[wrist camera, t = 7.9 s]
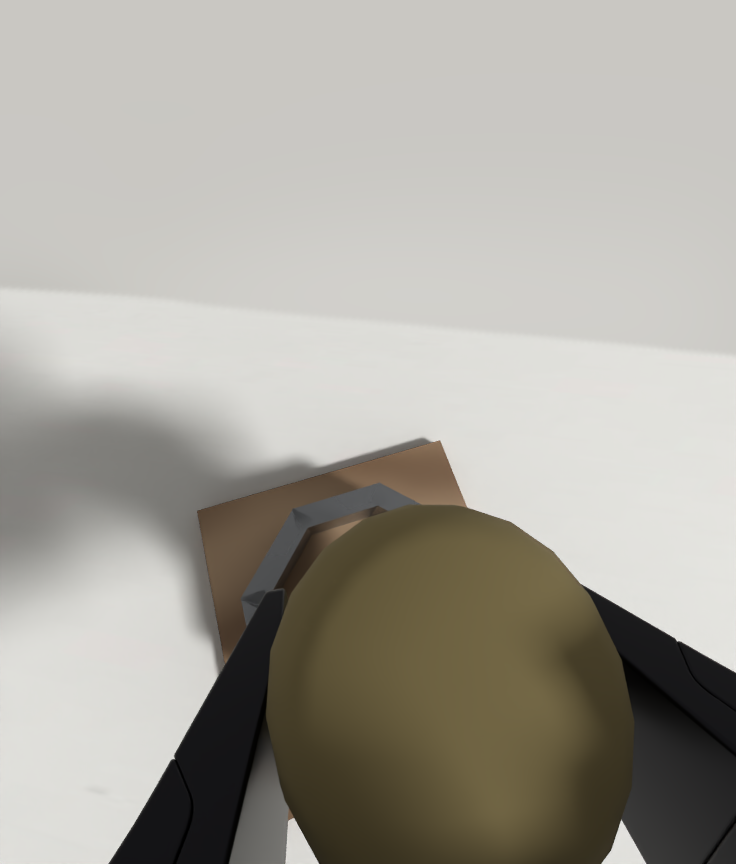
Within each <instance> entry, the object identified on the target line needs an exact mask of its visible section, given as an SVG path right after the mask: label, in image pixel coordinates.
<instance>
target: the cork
mask: <svg viewBox="0 0 736 864" xmlns="http://www.w3.org/2000/svg"><path fill="white" fill-rule="evenodd" d="M266 720H267V724H268V729H269V734H270V739H271V743H272V748H273V753H274V758H275V762H276V767H277V772H278V777H279V782H280V786H281V789H282V793H283V796H284V799H285V802H286V804H287V805H288V807H289V809H290V811H291V813H292V815H293V816H294V818H295V820H296V822H297V824H298V826H299V827H300V829H301V831H302V833H303V835H304V837H305V838H306V840H307V842H308V844H309V846H310V848H311V849H312V851H313V853H314V855H315V857H316V859H317V860H318V862H319V864H601V863H602V862H603V860H604V859H605V858H606V856H607V855H608V854H609V852H610V851H611V849H612V846H613V843H614V840H615V837H616V834H617V831H618V828H619V824H620V821H621V818H622V815H623V812H624V809H625V806H626V803H627V800H628V797H629V794H630V791H631V788H632V769H633V745H634V717H633V712H632V708H631V703H630V698H629V693H628V689H627V684H626V679H625V675H624V670H623V665H622V660H621V658H620V656H619V654H618V652H617V650H616V647H615V645H614V643H613V641H612V639H611V637H610V635H609V633H608V631H607V629H606V627H605V625H604V623H603V621H602V619H601V616H600V614H599V612H598V610H597V608H596V606H595V604H594V602H593V600H592V599H591V597H590V595H589V594H588V592H587V591H586V590H585V589H584V588H583V586H582V585H581V584H580V583H579V582H578V580H577V579H576V578H575V577H574V576H573V574H572V573H571V572H570V571H569V570H568V569H567V567H566V566H565V565H564V564H563V563H562V561H561V560H560V559H559V558H558V557H557V555H556V554H555V553H554V552H553V551H552V550H550V549H549V548H547V547H546V546H544V545H543V544H542V543H540V542H539V541H537V540H536V539H534V538H533V537H531V536H530V535H529V534H527V533H526V532H524V531H523V530H521V529H520V528H519V527H517V526H516V525H514V524H513V523H511V522H509V521H506V520H503V519H500V518H497V517H494V516H491V515H488V514H485V513H482V512H479V511H476V510H473V509H469V508H466V507H463V506H458V505H412V504H408V505H405V506H402V507H399V508H396V509H393V510H390V511H387V512H384V513H381V514H378V515H375V516H372V517H369V518H366V519H363V520H362V521H360V522H359V523H358V524H356V525H355V526H354V527H352V528H351V529H350V530H348V531H347V532H346V533H344V534H343V535H342V536H340V537H339V538H337V539H336V540H335V541H333V542H332V543H331V544H329V545H328V546H327V547H325V548H324V549H323V550H322V551H321V553H320V554H319V556H318V557H317V558H316V560H315V561H314V562H313V564H312V565H311V567H310V568H309V569H308V571H307V572H306V573H305V575H304V576H303V578H302V579H301V580H300V582H299V583H298V584H297V586H296V587H295V588H294V590H293V591H292V593H291V595H290V597H289V600H288V603H287V606H286V609H285V611H284V614H283V617H282V620H281V623H280V625H279V628H278V631H277V634H276V636H275V639H274V642H273V645H272V648H271V650H270V664H269V679H268V693H267V707H266Z"/></svg>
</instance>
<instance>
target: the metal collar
mask: <svg viewBox="0 0 736 864" xmlns="http://www.w3.org/2000/svg"><path fill="white" fill-rule="evenodd" d="M408 504H412V505H422V504H420V503H418V502H416V501H414V500H412V499H410V498H408V497H406V496H404V495H402V494H401V493H399V492H397V491H395V490H393V489H391V488H389V487H387V486H385V485H383V484H381V483H376V484H373V485H370V486H366V487H363V488H360V489H357V490H353V491H350V492H347V493H343V494H340V495H337V496H333V497H330V498H327V499H324V500H320V501H317V502H314V503H310V504H307V505H304V506H300V507H297V508H293V509H292V511H291V513H290V515H289V516H288V518H287V520H286V521H285V523H284V525H283V527H282V528H281V530H280V532H279V533H278V535H277V537H276V539H275V540H274V542H273V544H272V545H271V547H270V549H269V551H268V552H267V554H266V556H265V557H264V559H263V561H262V563H261V564H260V566H259V568H258V569H257V571H256V573H255V575H254V576H253V578H252V580H251V581H250V583H249V585H248V587H247V588H246V590H245V592H244V593H243V595H242V597H241V602H242V607H243V612H244V617H245V622H246V626H247V625H248V623H249V621H250V619H251V617H252V616H253V614H254V612H255V610H256V609H257V607H258V605H259V603H260V601H261V600H262V598H263V596H264V594H265V593H266V592H267V591H270V590H275V589H281V588H283V586H284V584H285V582H286V580H287V579H288V577H289V575H290V573H291V571H292V569H293V568H294V566H295V564H296V562H297V560H298V559H299V557H300V555H301V553H302V551H303V549H304V548H305V546H306V544H307V542H308V540H309V538H310V537H311V535H314V534H317V533H320V532H323V531H326V530H329V529H333V528H336V527H339V526H342V525H345V524H348V523H351V522H355V521H358V520H361V519H364V518H367V517H370V516H371V517H372V516H375V515H378V514H381V513H384V512H387V511H390V510H393V509H396V508H399V507H402V506H405V505H408Z"/></svg>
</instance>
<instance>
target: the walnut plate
mask: <svg viewBox="0 0 736 864" xmlns="http://www.w3.org/2000/svg"><path fill="white" fill-rule="evenodd" d="M376 483H381V484H383V485H385V486H387V487H389V488H391V489H393V490H395V491H397V492H399V493H401V494H402V495H404V496H406V497H408V498H410V499H412V500H414V501H416V502H418V503H420V504H422V505H458V506H463V507H466V508H467V506H466V504H465V501H464V499H463V496H462V494H461V491H460V489H459V486H458V484H457V481H456V479H455V476H454V474H453V472H452V469H451V467H450V464H449V462H448V459H447V457H446V454H445V452H444V449H443V447H442V444H441V442H440V440H439V441H436V442H433V443H429V444H426V445H422V446H419V447H415V448H412V449H408V450H405V451H402V452H398V453H395V454H391V455H388V456H384V457H381V458H377V459H374V460H371V461H367V462H364V463H360V464H357V465H353V466H350V467H346V468H343V469H340V470H336V471H333V472H329V473H326V474H322V475H319V476H315V477H312V478H309V479H305V480H302V481H298V482H295V483H291V484H288V485H284V486H281V487H278V488H274V489H271V490H267V491H264V492H260V493H257V494H253V495H250V496H247V497H243V498H240V499H236V500H233V501H229V502H226V503H222V504H219V505H216V506H212V507H209V508H205V509H202V510H198V511H197V513H198V518H199V524H200V529H201V535H202V540H203V546H204V551H205V557H206V562H207V568H208V573H209V579H210V584H211V590H212V595H213V601H214V606H215V612H216V618H217V623H218V629H219V634H220V640H221V645H222V651H223V656H224V662H225V664H226V662H227V660H228V658H229V657H230V655H231V653H232V651H233V649H234V648H235V646H236V644H237V642H238V641H239V639H240V637H241V635H242V633H243V632H244V630H245V628H246V622H245V617H244V612H243V607H242V602H241V597H242V595H243V593H244V592H245V590H246V588H247V587H248V585H249V583H250V581H251V580H252V578H253V576H254V575H255V573H256V571H257V569H258V568H259V566H260V564H261V563H262V561H263V559H264V557H265V556H266V554H267V552H268V551H269V549H270V547H271V545H272V544H273V542H274V540H275V539H276V537H277V535H278V533H279V532H280V530H281V528H282V527H283V525H284V523H285V521H286V520H287V518H288V516H289V515H290V513H291V511H292V509H293V508H297V507H300V506H304V505H307V504H310V503H314V502H317V501H320V500H324V499H327V498H330V497H333V496H337V495H340V494H343V493H347V492H350V491H353V490H357V489H360V488H363V487H366V486H370V485H373V484H376ZM370 517H371V516H370ZM367 518H369V517H367ZM364 519H366V518H364ZM362 520H363V519H361V520H358V521H355V522H351V523H348V524H345V525H342V526H339V527H336V528H333V529H329V530H326V531H323V532H320V533H317V534H314V535H311V537H310V538H309V540H308V542H307V544H306V546H305V548H304V549H303V551H302V553H301V555H300V557H299V559H298V560H297V562H296V564H295V566H294V568H293V569H292V571H291V573H290V575H289V577H288V579H287V580H286V582H285V584H284V586H283V589H285V590H286V593H287V598H288V600H289V597H290V595H291V593H292V591H293V590H294V588H295V587H296V586H297V584H298V583H299V582H300V580H301V579H302V578H303V576H304V575H305V573H306V572H307V571H308V569H309V568H310V567H311V565H312V564H313V562H314V561H315V560H316V558H317V557H318V556H319V554H320V553H321V551H322V550H323V549H324V548H325V547H327V546H328V545H329V544H331V543H332V542H333V541H335V540H336V539H337V538H339V537H340V536H342V535H343V534H344V533H346V532H347V531H348V530H350V529H351V528H352V527H354V526H355V525H356V524H358V523H359V522H360V521H362ZM292 818H294V816H293V815H292V813H291V811H290V809H289V810H288V820H290V819H292Z"/></svg>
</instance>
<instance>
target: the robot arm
mask: <svg viewBox="0 0 736 864" xmlns="http://www.w3.org/2000/svg"><path fill="white" fill-rule="evenodd" d="M581 585H582V584H581ZM582 586H583V585H582ZM583 588H584V589H585V590H586V591H587V592H588V594H589V595H590V597H591V599H592V600H593V602H594V604H595V606H596V608H597V610H598V612H599V614H600V616H601V619H602V621H603V623H604V625H605V627H606V629H607V631H608V633H609V635H610V637H611V639H612V641H613V643H614V645H615V647H616V650H617V652H618V654H619V656H620V658H621V660H622V665H623V670H624V675H625V679H626V684H627V689H628V693H629V698H630V703H631V708H632V712H633V717H634V745H633V769H632V788H631V791H630V794H629V797H628V800H627V803H626V806H625V809H624V812H623V815H622V818H621V819H622V821H623V823H624V825H625V827H626V828H627V830H628V832H629V834H630V835H631V837H632V839H633V841H634V842H635V844H636V846H637V848H638V850H639V851H640V853H641V855H642V857H643V858H644V860H645V862H646V864H736V673H735V672H734V671H732V670H730V669H728V668H726V667H725V666H723V665H721V664H719V663H717V662H716V661H714V660H712V659H710V658H709V657H707V656H705V655H703V654H701V653H700V652H698V651H696V650H694V649H693V648H691V647H689V646H688V645H686V644H684V643H682V642H680V641H678V642H677V641H676V639H675V638H673V637H672V636H670V635H668V634H666V633H665V632H663V631H661V630H660V629H658V628H656V627H654V626H653V625H651V624H649V623H647V622H646V621H644V620H642V619H641V618H639V617H637V616H635V615H634V614H632V613H630V612H628V611H627V610H625V609H623V608H621V607H620V606H618V605H616V604H615V603H613V602H611V601H609V600H608V599H606V598H604V597H602V596H601V595H599V594H597V593H596V592H594V591H592V590H590V589H589V588H587V587H585V586H583ZM287 603H288V598H287V593H286V590H285V589H283V588H281V589H275V590H270V591H267V592H266V593H265V594H264V596H263V598H262V600H261V601H260V603H259V605H258V607H257V609H256V610H255V612H254V614H253V616H252V617H251V619H250V621H249V623H248V625H247V626H246V628H245V630H244V632H243V633H242V635H241V637H240V639H239V641H238V642H237V644H236V646H235V648H234V649H233V651H232V653H231V655H230V657H229V658H228V660H227V662H226V664H225V665H224V667H223V669H222V671H221V673H220V674H219V676H218V678H217V680H216V681H215V683H214V685H213V687H212V689H211V690H210V692H209V694H208V696H207V697H206V699H205V701H204V703H203V705H202V706H201V708H200V710H199V712H198V713H197V715H196V717H195V719H194V721H193V722H192V724H191V726H190V728H189V729H188V731H187V733H186V735H185V737H184V738H183V740H182V742H181V744H180V745H179V747H178V749H177V751H176V753H175V755H174V758H175V759H172V760H171V761H170V763H169V764H168V766H167V768H166V770H165V772H164V773H163V775H162V777H161V779H160V781H159V782H158V784H157V786H156V788H155V789H154V791H153V793H152V794H151V796H150V798H149V800H148V801H147V803H146V805H145V806H144V808H143V810H142V811H141V813H140V815H139V816H138V818H137V820H136V822H135V823H134V825H133V827H132V828H131V830H130V831H129V833H128V834H127V836H126V837H125V839H124V841H123V842H122V844H121V845H120V847H119V848H118V850H117V851H116V853H115V854H114V856H113V858H112V859H111V861H110V862H109V864H285V860H286V844H287V827H288V810H289V807H288V805H287V804H286V802H285V799H284V796H283V793H282V789H281V786H280V782H279V777H278V772H277V767H276V762H275V758H274V753H273V748H272V743H271V739H270V734H269V729H268V724H267V720H266V707H267V693H268V679H269V664H270V650H271V648H272V645H273V642H274V639H275V636H276V634H277V631H278V628H279V625H280V623H281V620H282V617H283V614H284V611H285V609H286V606H287Z"/></svg>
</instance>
